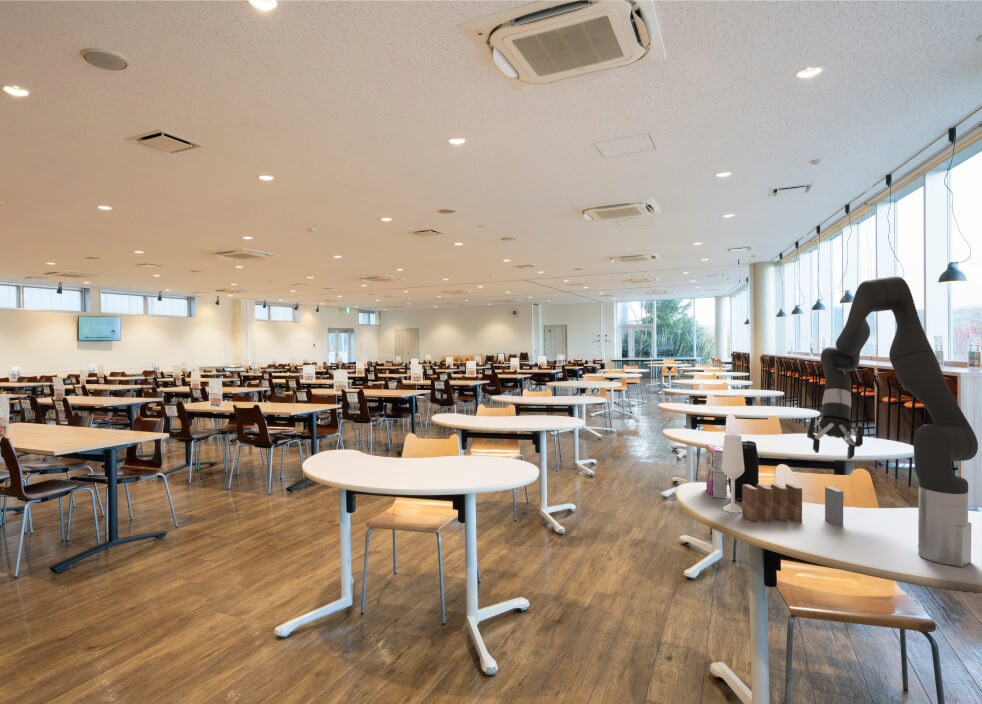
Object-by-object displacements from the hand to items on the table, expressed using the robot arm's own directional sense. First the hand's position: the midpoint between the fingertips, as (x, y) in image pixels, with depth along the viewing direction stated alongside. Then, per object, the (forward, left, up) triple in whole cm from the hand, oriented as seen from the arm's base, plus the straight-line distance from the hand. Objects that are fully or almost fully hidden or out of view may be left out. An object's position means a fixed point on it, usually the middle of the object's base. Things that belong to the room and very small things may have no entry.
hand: (833, 455), depth 160 cm
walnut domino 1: (+12, +24, -19) cm, 33 cm away
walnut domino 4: (+5, +12, -19) cm, 23 cm away
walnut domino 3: (+7, +16, -19) cm, 26 cm away
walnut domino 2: (+10, +20, -19) cm, 29 cm away
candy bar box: (+34, +9, -19) cm, 40 cm away
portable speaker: (+25, +7, -19) cm, 32 cm away
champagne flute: (+20, +20, -19) cm, 34 cm away
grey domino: (-3, +6, -19) cm, 20 cm away
